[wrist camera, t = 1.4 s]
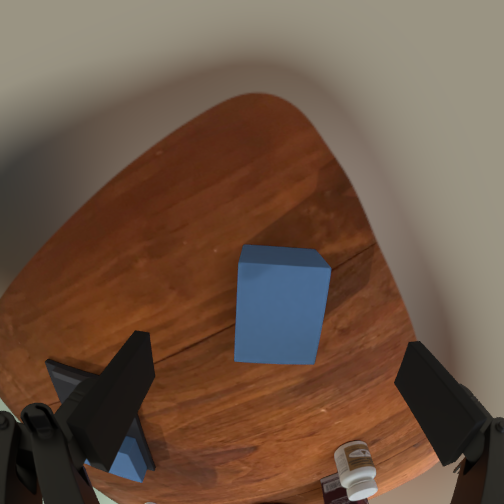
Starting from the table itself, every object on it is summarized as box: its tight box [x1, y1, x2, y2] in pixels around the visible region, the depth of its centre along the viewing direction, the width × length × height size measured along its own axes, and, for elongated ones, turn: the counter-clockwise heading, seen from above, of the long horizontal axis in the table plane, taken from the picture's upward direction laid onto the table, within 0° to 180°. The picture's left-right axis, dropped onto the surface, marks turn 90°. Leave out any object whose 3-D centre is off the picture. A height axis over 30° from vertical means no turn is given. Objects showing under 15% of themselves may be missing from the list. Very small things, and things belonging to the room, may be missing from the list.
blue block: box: [234, 245, 331, 364], centre depth 19 cm, size 7×6×5 cm
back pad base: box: [45, 359, 156, 483], centre depth 25 cm, size 18×12×4 cm, turn 176°
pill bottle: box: [334, 441, 378, 501], centre depth 23 cm, size 4×4×8 cm
